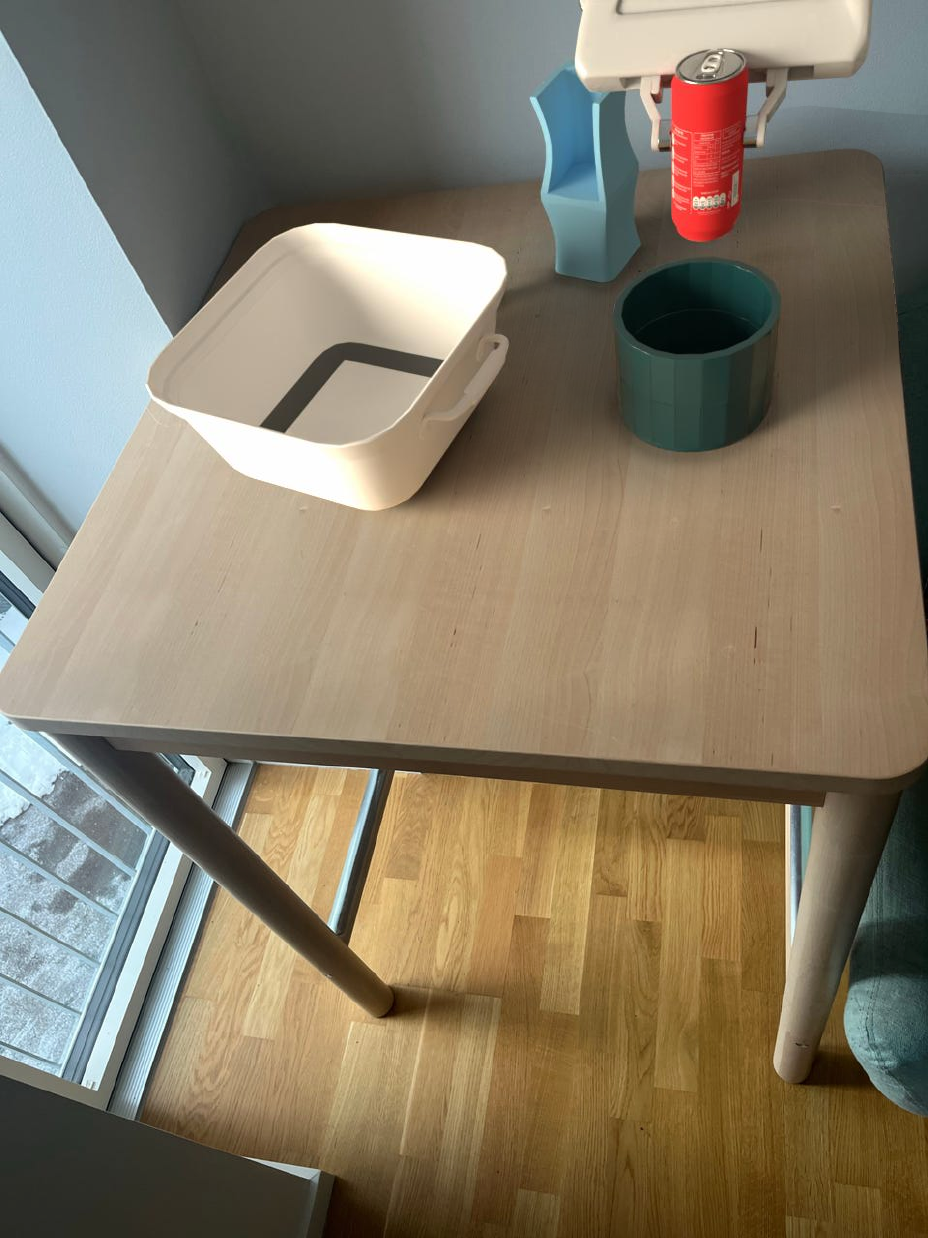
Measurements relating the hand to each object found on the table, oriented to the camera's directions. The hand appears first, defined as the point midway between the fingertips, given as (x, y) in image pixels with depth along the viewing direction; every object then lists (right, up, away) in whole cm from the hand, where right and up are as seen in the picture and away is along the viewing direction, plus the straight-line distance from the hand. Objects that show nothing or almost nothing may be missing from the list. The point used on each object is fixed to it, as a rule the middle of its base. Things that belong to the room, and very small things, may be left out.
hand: (707, 147), depth 66 cm
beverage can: (+1, -3, +6) cm, 7 cm away
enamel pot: (+5, -13, +24) cm, 28 cm away
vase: (-2, +8, +41) cm, 41 cm away
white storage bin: (-28, -15, +30) cm, 44 cm away
